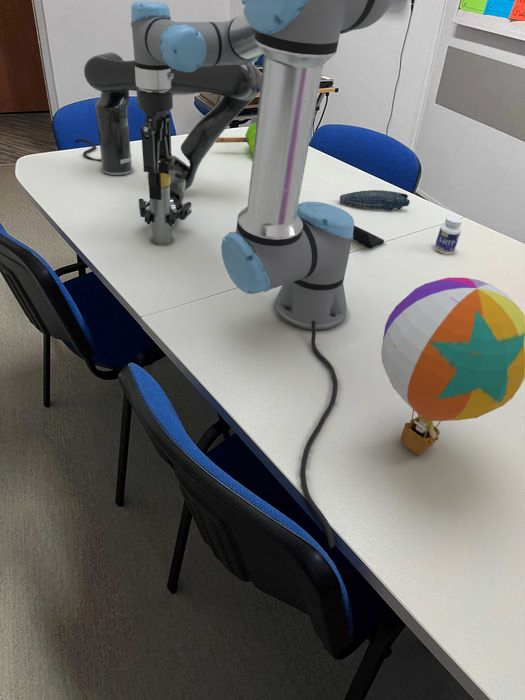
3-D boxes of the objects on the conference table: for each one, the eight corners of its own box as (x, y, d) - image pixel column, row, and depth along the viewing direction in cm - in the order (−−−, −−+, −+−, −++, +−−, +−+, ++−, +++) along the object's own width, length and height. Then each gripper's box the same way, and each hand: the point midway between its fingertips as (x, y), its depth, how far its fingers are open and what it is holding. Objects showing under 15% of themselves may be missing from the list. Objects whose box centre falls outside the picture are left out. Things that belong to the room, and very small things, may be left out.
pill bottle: (433, 251, 139) (442, 220, 133) (435, 243, 143) (444, 213, 137) (453, 256, 138) (464, 225, 132) (454, 247, 142) (465, 217, 136)
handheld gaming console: (388, 234, 141) (380, 212, 133) (377, 256, 140) (367, 236, 131) (351, 226, 147) (341, 204, 139) (340, 247, 146) (329, 227, 138)
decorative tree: (211, 117, 187) (292, 117, 193) (212, 147, 194) (290, 146, 199) (217, 132, 174) (304, 131, 179) (217, 163, 180) (301, 162, 186)
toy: (330, 436, 84) (367, 277, 66) (403, 387, 95) (453, 238, 76) (431, 520, 73) (510, 357, 55) (500, 454, 84) (586, 299, 65)
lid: (144, 185, 122) (144, 179, 120) (151, 177, 126) (151, 171, 125) (166, 188, 121) (166, 181, 120) (173, 180, 125) (172, 174, 124)
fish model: (408, 214, 157) (412, 198, 153) (339, 207, 158) (341, 191, 154) (406, 206, 162) (410, 190, 159) (339, 199, 163) (341, 183, 160)
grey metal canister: (155, 235, 135) (151, 174, 125) (173, 237, 135) (171, 176, 125) (150, 243, 131) (146, 181, 121) (169, 245, 131) (166, 184, 121)
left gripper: (141, 178, 137) (128, 205, 124) (195, 182, 138) (188, 209, 125) (143, 205, 142) (131, 233, 129) (195, 209, 143) (189, 237, 129)
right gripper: (157, 100, 103) (162, 211, 118) (183, 82, 117) (185, 182, 132) (120, 96, 104) (130, 206, 118) (152, 78, 118) (157, 178, 132)
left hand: (159, 221), depth 127 cm, fingers closed on grey metal canister, 4 cm apart
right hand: (159, 193), depth 125 cm, fingers closed on lid, 5 cm apart
